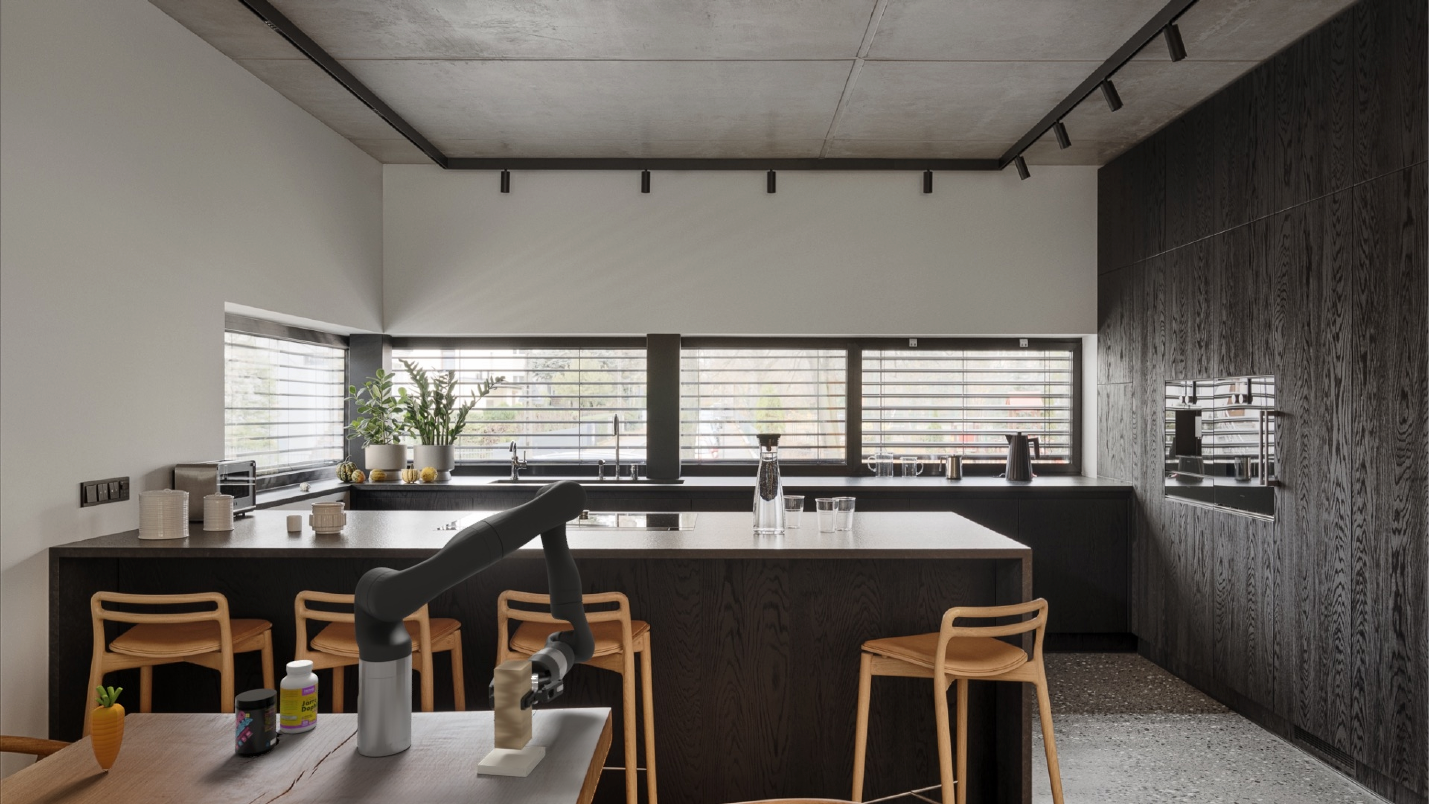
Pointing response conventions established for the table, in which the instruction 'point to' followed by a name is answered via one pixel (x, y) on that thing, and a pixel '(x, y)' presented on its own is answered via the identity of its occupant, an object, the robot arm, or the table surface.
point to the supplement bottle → (298, 698)
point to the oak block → (512, 705)
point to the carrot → (107, 727)
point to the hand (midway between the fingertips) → (507, 703)
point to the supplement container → (255, 722)
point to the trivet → (511, 761)
